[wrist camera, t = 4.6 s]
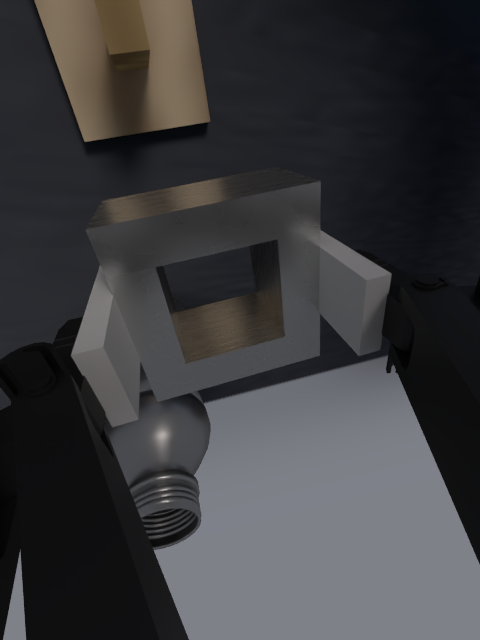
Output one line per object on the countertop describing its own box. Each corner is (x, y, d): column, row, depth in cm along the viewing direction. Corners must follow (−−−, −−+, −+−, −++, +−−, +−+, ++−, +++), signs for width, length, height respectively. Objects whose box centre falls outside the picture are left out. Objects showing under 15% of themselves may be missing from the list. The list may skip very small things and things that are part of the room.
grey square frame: (275, 167, 13) (320, 181, 10) (285, 310, 17) (319, 355, 13) (102, 201, 12) (85, 229, 9) (154, 344, 16) (157, 402, 12)
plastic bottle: (200, 312, 32) (257, 506, 16) (155, 354, 34) (165, 573, 17) (152, 272, 29) (161, 467, 12) (103, 320, 30) (53, 555, 14)
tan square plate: (180, -53, 19) (195, -132, 13) (208, 121, 24) (227, 120, 18) (22, -41, 18) (-37, -121, 12) (86, 141, 23) (67, 146, 17)
